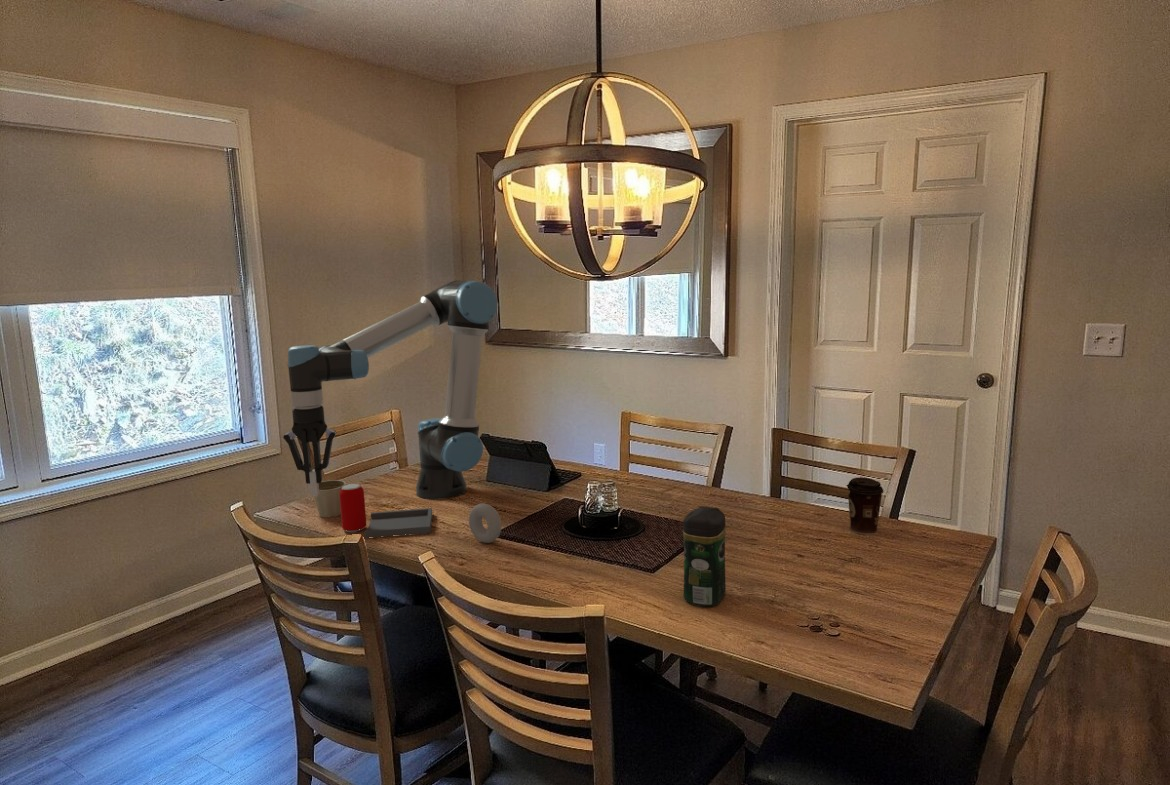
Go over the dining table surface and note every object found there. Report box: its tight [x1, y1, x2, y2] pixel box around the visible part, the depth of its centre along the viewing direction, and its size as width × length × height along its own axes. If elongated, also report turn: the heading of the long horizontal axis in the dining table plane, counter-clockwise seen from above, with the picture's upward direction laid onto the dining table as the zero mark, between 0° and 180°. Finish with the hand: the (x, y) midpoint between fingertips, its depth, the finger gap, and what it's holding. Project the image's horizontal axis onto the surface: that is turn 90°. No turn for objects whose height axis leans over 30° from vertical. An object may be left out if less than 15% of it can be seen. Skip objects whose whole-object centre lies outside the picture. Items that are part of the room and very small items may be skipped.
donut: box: [468, 503, 502, 544], centre depth 180 cm, size 10×4×10 cm, turn 54°
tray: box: [363, 507, 433, 540], centre depth 194 cm, size 16×15×2 cm
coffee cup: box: [846, 477, 884, 536], centre depth 182 cm, size 9×8×13 cm
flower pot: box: [309, 479, 347, 519], centre depth 204 cm, size 9×9×9 cm
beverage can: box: [339, 483, 367, 534], centre depth 191 cm, size 6×6×12 cm
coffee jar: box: [682, 505, 727, 607], centre depth 147 cm, size 10×8×19 cm
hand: (315, 494), depth 189 cm, fingers closed
